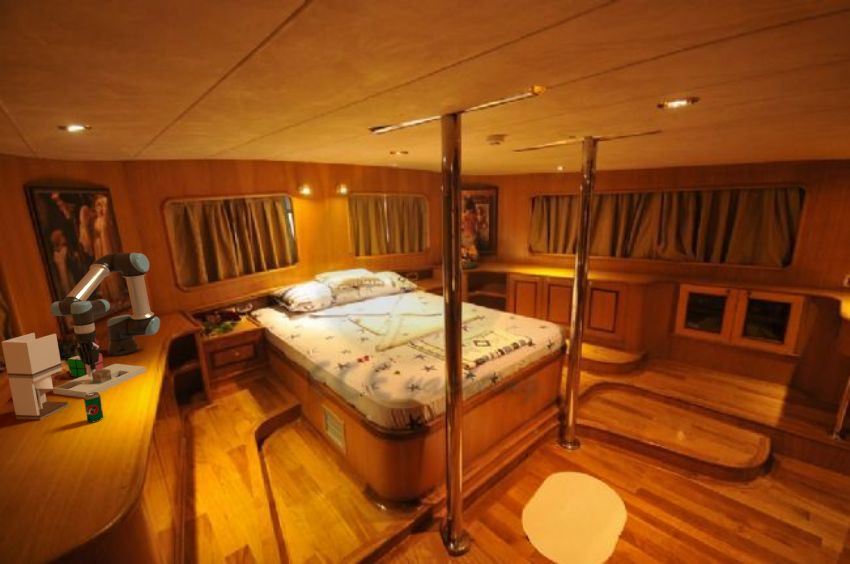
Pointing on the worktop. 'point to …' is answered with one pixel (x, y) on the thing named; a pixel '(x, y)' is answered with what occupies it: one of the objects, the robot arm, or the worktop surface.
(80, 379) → the board
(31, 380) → the coffee machine
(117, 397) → the worktop surface
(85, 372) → the puzzle cube
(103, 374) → the walnut block
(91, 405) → the soda can
